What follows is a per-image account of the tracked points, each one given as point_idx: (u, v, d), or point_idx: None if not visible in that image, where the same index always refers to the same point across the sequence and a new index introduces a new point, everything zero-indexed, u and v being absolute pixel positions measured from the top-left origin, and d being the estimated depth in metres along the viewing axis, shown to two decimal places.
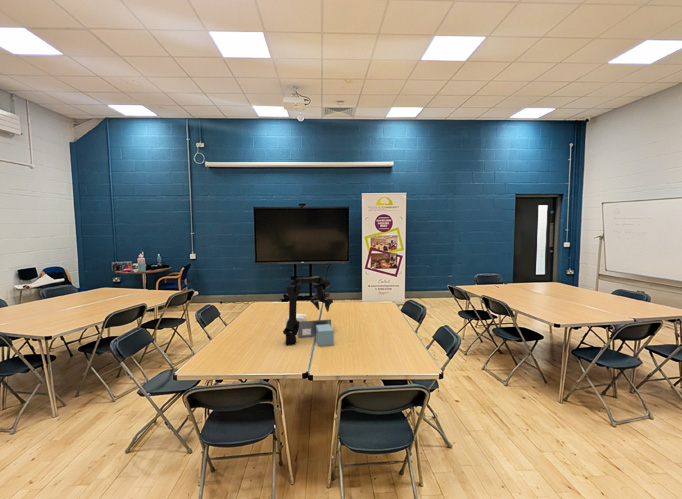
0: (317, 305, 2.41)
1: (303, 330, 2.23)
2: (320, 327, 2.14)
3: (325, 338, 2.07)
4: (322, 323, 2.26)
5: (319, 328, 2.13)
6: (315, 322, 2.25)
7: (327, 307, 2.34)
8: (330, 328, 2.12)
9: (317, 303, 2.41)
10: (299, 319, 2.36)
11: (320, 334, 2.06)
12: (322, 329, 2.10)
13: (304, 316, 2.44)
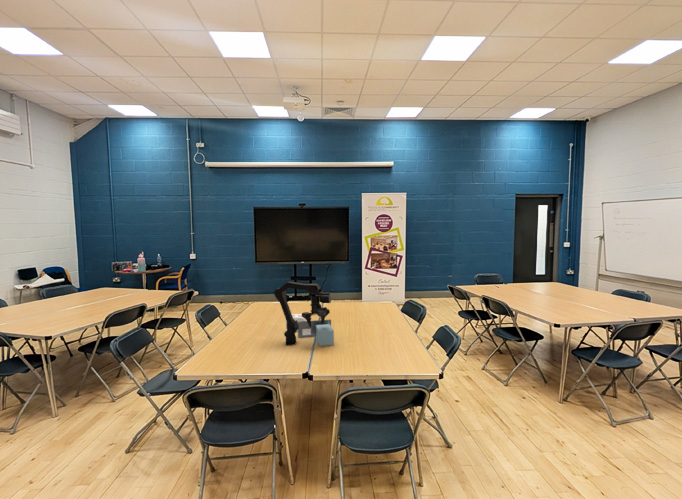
0: (321, 318, 2.11)
1: (303, 330, 2.23)
2: (320, 327, 2.14)
3: (325, 338, 2.07)
4: None
5: (319, 328, 2.13)
6: (315, 322, 2.25)
7: (307, 321, 2.06)
8: (330, 328, 2.12)
9: (322, 316, 2.11)
10: (299, 319, 2.36)
11: (320, 334, 2.06)
12: (322, 329, 2.10)
13: None
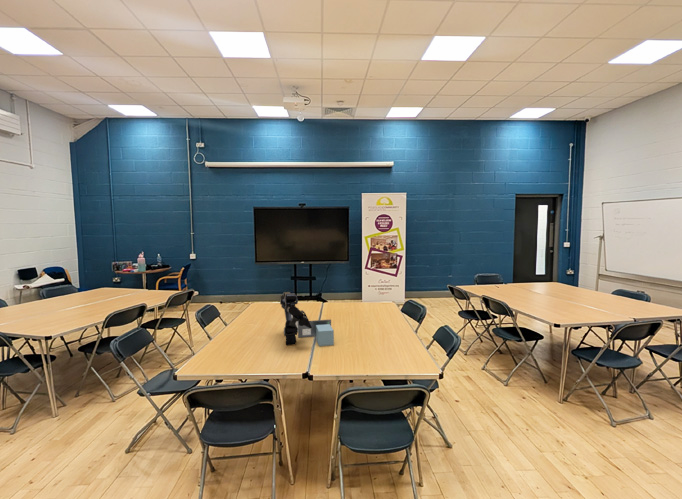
0: None
1: (303, 330, 2.23)
2: (320, 327, 2.14)
3: (325, 338, 2.07)
4: (322, 323, 2.26)
5: (319, 328, 2.13)
6: (315, 322, 2.25)
7: None
8: (330, 328, 2.12)
9: None
10: None
11: (320, 334, 2.06)
12: (322, 329, 2.10)
13: None
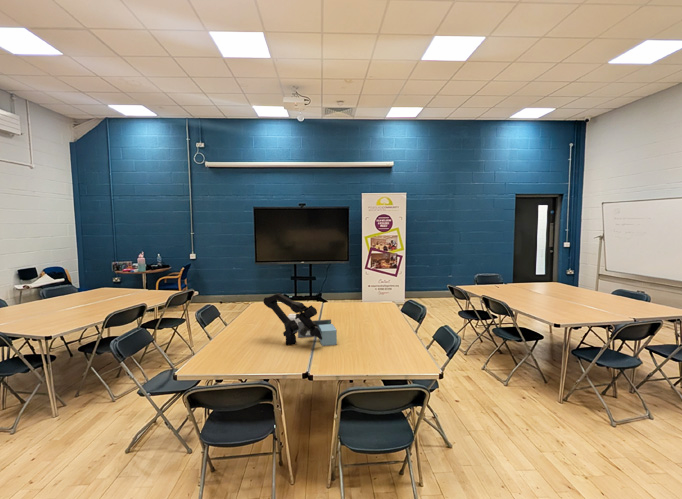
0: None
1: None
2: (323, 327, 2.14)
3: (328, 338, 2.08)
4: (322, 323, 2.26)
5: (322, 328, 2.13)
6: (315, 322, 2.25)
7: None
8: (333, 328, 2.12)
9: None
10: None
11: (323, 334, 2.07)
12: (325, 329, 2.10)
13: None
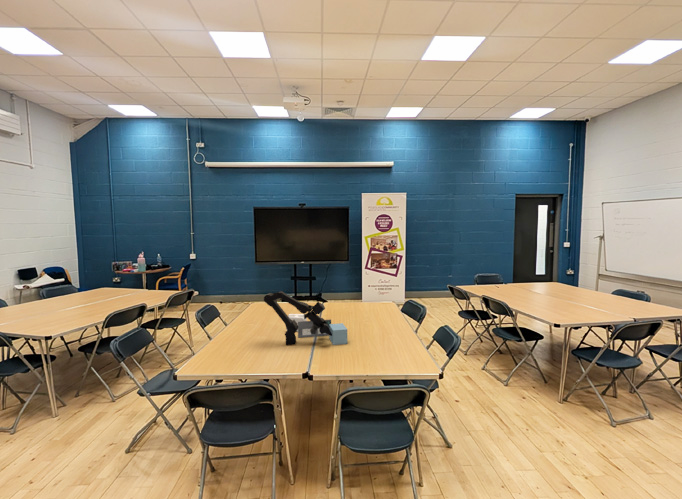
0: None
1: (303, 330, 2.23)
2: (333, 326, 2.16)
3: (339, 337, 2.09)
4: None
5: (333, 327, 2.15)
6: None
7: None
8: (344, 327, 2.14)
9: None
10: (299, 319, 2.36)
11: (334, 333, 2.08)
12: (336, 328, 2.12)
13: None
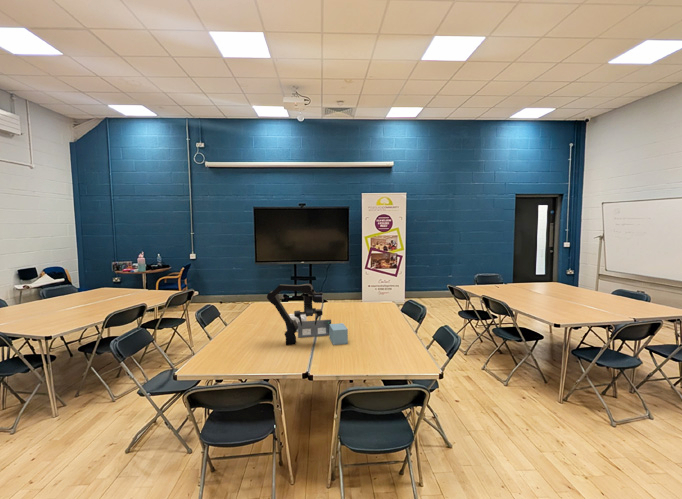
0: (315, 319, 2.12)
1: (303, 330, 2.23)
2: (334, 326, 2.16)
3: (339, 337, 2.09)
4: (322, 323, 2.26)
5: (333, 327, 2.15)
6: None
7: None
8: (344, 327, 2.14)
9: (315, 317, 2.12)
10: None
11: (334, 333, 2.08)
12: (336, 328, 2.12)
13: (304, 316, 2.44)
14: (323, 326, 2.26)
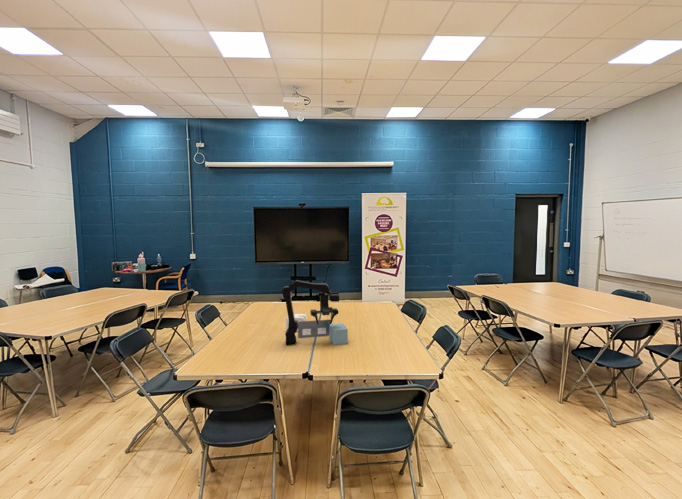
0: (331, 318, 2.15)
1: (303, 330, 2.23)
2: (334, 326, 2.16)
3: (339, 337, 2.09)
4: (322, 323, 2.26)
5: (333, 327, 2.15)
6: (315, 322, 2.25)
7: None
8: (344, 327, 2.14)
9: (331, 316, 2.14)
10: (299, 319, 2.36)
11: (334, 333, 2.08)
12: (336, 328, 2.12)
13: (304, 316, 2.44)
14: (323, 326, 2.26)
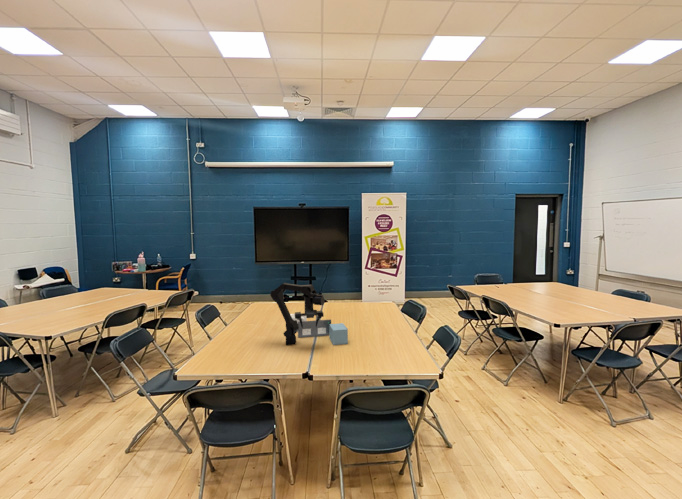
0: (316, 320, 2.09)
1: (303, 330, 2.23)
2: (334, 326, 2.16)
3: (339, 337, 2.09)
4: (322, 323, 2.26)
5: (333, 327, 2.15)
6: (315, 322, 2.25)
7: None
8: (344, 327, 2.14)
9: (316, 319, 2.08)
10: None
11: (334, 333, 2.08)
12: (336, 328, 2.12)
13: (304, 316, 2.44)
14: (323, 326, 2.26)
